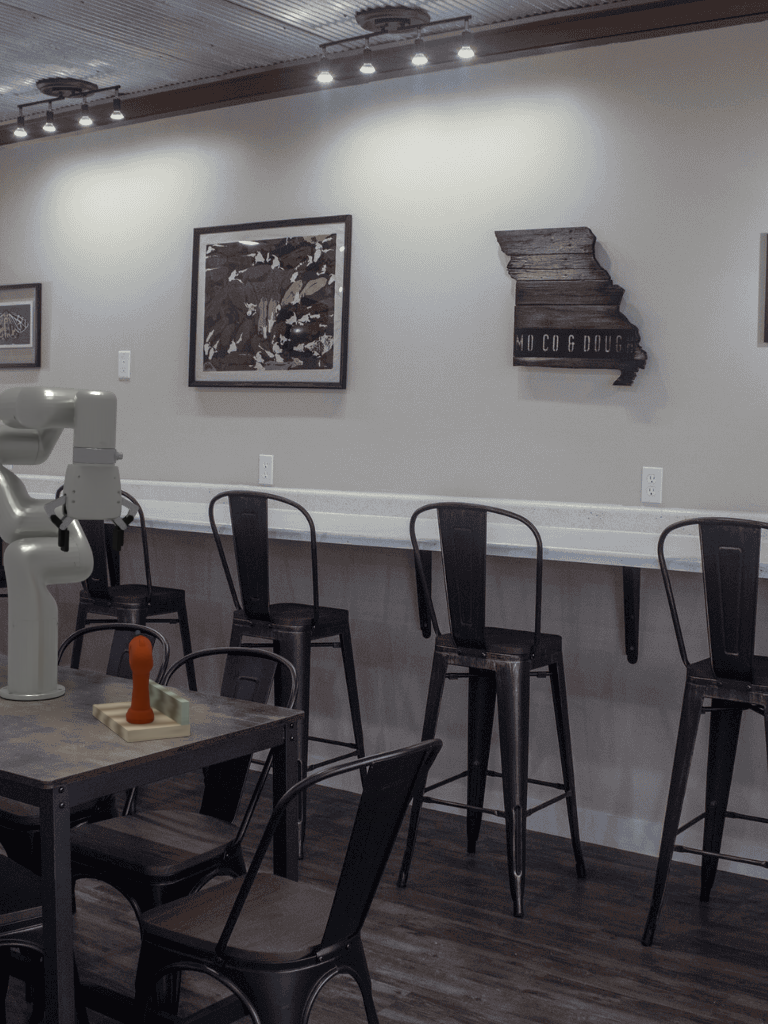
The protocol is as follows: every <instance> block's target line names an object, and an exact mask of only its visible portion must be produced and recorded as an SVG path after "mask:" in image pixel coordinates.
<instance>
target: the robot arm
mask: <svg viewBox="0 0 768 1024" xmlns="http://www.w3.org/2000/svg"><path fill="white" fill-rule="evenodd" d="M117 412H118V399H117V395H116V394H115V393H114V392H112V391H110V390H109V391H108V390H99V389H98V390H97V389H85V388H76V387H75V388H73V387H72V388H71V387H60V386H59V387H57V386H56V387H55V386H16V387H15V386H14V387H10V388H7V389H5V390H4V391H2V392H1V393H0V422H1V423H2V424H0V538H1V540H3V541H4V542H5V543H7V544H8V545H7V547H6V548H5V550H4V553H3V569H4V572H5V580H6V586H7V597H8V598H7V604H8V607H7V611H8V614H7V616H8V617H7V619H8V620H7V621H8V622H7V623H8V624H7V625H8V628H7V630H8V632H7V685H6V686H3V687H1V688H0V697H1V698H2V699H6V700H13V701H39V700H41V701H42V700H48V699H55V698H58V697H61V696H63V695H64V694H66V687H65V686H64V685H62V684H59V683H58V661H59V660H58V659H59V658H58V647H59V643H58V642H59V608H58V604H57V601H56V600H55V597H54V596H53V595H52V594H51V592H50V591H49V589H48V587H47V586H48V585H51V586H52V585H61V584H63V585H64V584H75V583H80V582H84V581H85V580H87V579H88V578H89V577H90V576H91V575H92V573H93V571H94V555H93V550H92V547H91V546H90V543H89V541H88V538H87V536H86V533H85V532H84V530H83V527H82V525H81V524H80V521H79V520H81V521H82V520H87V521H93V520H94V521H99V520H100V521H101V520H102V521H107V520H108V521H111V522H112V523H113V525H114V528H113V529H112V547H111V548H112V550H113V551H116V552H121V551H122V547H124V540H125V530H127V528H128V526H130V524H131V523H133V522H134V520H135V517H136V515H137V513H138V511H139V509H140V506H139V505H137V504H136V503H134V502H132V501H130V500H128V499H126V498H125V497H123V496H122V483H121V477H120V474H121V473H120V470H119V465H118V466H117V465H116V464H117V461H119V460H123V458H124V454H123V452H119V451H118V450H117V448H116V447H117V446H116V443H117V440H116V439H117V419H118V417H117ZM65 429H73V434H72V435H73V436H72V437H73V443H72V444H73V445H72V446H73V447H72V464H67V467H66V471H65V474H64V475H65V476H64V482H63V489H62V496H60V497H56V498H55V499H54V498H34V497H31V496H30V494H29V492H28V490H27V487H26V486H25V483H24V482H23V481H22V479H21V478H20V477H18V476H17V474H15V473H14V472H13V471H11V470H9V469H8V468H6V467H5V466H38V465H41V464H44V462H46V461H48V459H49V457H50V456H51V454H52V452H53V450H54V448H55V447H56V445H57V443H58V441H59V439H60V437H61V435H62V434H63V432H64V430H65ZM123 507H124V508H126V509H127V513H126V515H124V517H123V518H121V515H122V508H123Z"/></svg>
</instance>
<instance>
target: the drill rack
mask: <svg viewBox="0 0 768 1024" xmlns="http://www.w3.org/2000/svg"><path fill="white" fill-rule="evenodd" d="M149 697H150V707H151V708H152V710H153V713H154V721H153V722H151V723H148V724H132V723H129V722H127V720H126V713H127V711H128V709H129V708H130V707H131V700H130V701H119V702H107V703H98V704H97V703H96V704H95V703H94V704H92V716H93V717H94V718H95V719H96V720H98V721H99V722H101V723H102V724H103V725H104V726H106V728H107V727H108V728H109V729H110V730H111V731H112V732H114V733H115V734H117V736H118V737H120V738H121V739H123V740H124V741H125V742H126V743H136V742H146V741H154V740H165V739H174V738H184V737H190V736H191V724H190V701H189V700H188V699H185V698H183V697H182V696H180V695H179V694H177V693H175V692H173V691H172V690H170V689H168V688H166V687H165V686H163V685H162V684H159V683H157V682H155V681H154V680H152V679H150V678H149Z"/></svg>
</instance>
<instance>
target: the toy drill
mask: <svg viewBox="0 0 768 1024" xmlns="http://www.w3.org/2000/svg"><path fill="white" fill-rule="evenodd" d="M128 656H129V657H128V658H129V659H128V661H129V668H130V670H131V672H132V691H131V700H130V701H131V707H130V708H129V709H128V711H127V713H126V720H127V722H129V723H132V724H148V723H151V722H153V721H154V713H153V710H152V708H151V707H150V697H149V679H150V676H151V675H150V674H151V671H152V669H153V668H154V657H153V646H152V642H151V641H150V639H149V638H148V637H146V636H145V635H144V634H142V633H141V630H139V629H137V630H135V632H134V635H133V637H132V639H131V640H130V642H129V643H128Z"/></svg>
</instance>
